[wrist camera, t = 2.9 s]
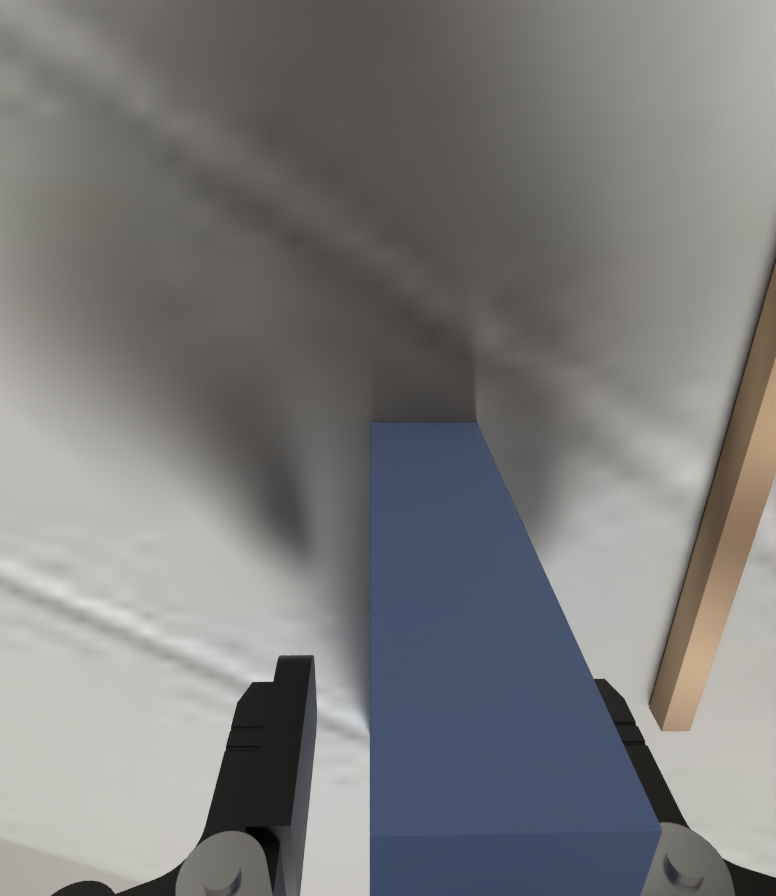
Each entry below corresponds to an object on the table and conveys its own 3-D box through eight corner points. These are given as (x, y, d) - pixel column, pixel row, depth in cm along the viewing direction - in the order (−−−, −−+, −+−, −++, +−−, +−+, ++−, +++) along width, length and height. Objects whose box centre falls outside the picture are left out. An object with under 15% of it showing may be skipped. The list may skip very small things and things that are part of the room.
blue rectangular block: (370, 421, 13) (369, 836, 5) (476, 421, 13) (662, 831, 5) (369, 733, 17) (369, 1243, 9) (450, 731, 17) (523, 1236, 9)
